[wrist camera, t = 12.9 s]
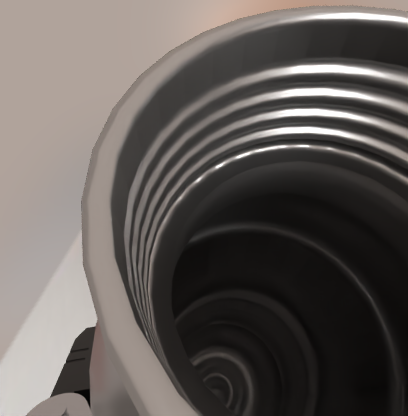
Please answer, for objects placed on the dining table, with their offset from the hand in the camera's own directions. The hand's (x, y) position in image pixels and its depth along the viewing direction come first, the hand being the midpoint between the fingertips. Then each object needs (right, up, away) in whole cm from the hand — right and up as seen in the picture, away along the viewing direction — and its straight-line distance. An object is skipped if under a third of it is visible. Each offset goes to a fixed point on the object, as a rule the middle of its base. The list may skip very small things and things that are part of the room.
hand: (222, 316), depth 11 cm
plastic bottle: (0, -7, +8) cm, 11 cm away
